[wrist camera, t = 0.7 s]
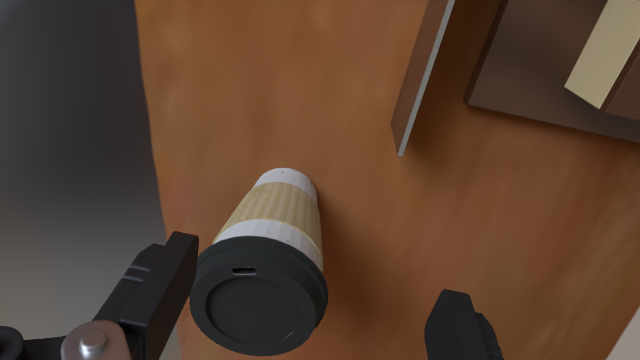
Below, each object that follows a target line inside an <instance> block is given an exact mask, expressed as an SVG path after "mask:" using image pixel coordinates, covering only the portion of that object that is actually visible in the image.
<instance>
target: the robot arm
mask: <svg viewBox="0 0 640 360" xmlns="http://www.w3.org/2000/svg"><path fill="white" fill-rule="evenodd" d="M198 246H199V237H198V236H196V235H192V234H187V233H182V232H177V231H174V232H173V233H172V235H171V236H170V238H169V240H168V241H167V243H166V245H165V246H163V245H158V244H152V245H151V246H149V247H147V248H146V249H144V250H143V251H141V252H140V253H139V254H138V255H137V257H136V258H135V260H134V261H133V263H132V264H131V266H130V268H129V269H128V270H127V272H126V273H125V275H124V276H123V279H121V280H120V281H119V283H118V284H117V286H116V287H115V289H114V290H113V292H112V293H111V294H110V296H109V298H108V299H107V300H106V302H105V303H104V305H103V306H102V307H101V309H100V310H99V312H98V313H97V315H96V316H95V317H94V319H93V320H92V321H90V322H87V323H84V324H82V325H80V326H78V327H76V328H75V329H73V330H72V331H71V332H70V333H69V334H68V335H66V336H62V337H56V338H45V339H33V340H23V337H22V335H21V334H20V332H19V331H17V330H16V329H14V328H11V327H6V326H0V360H159V358H160V356H161V354H162V351H163V349H164V347H165V345H166V343H167V341H168V339H169V337H170V335H171V332H172V330H173V328H174V326H175V324H176V322H177V320H178V318H179V315H180V313H181V311H182V309H183V307H184V305H185V303H186V301H187V298H188V296H189V294H190V292H191V290H192V287H193V284H194V281H195V277H196V271H197V259H198ZM425 344H426V349H427V355H428V360H504V358H502V352H501V349H500V347H499V346H498V341H497V338H496V335H495V333H494V330H493V327H492V326H491V325H490V323H489V322H488V321H487V319H486V318H485V317H484V316H483V314H482V313H477V312H475V311H474V308H473V304H472V301H471V298H470V296H469V295H468V294H466V293H461V292H457V291H452V290H447V289H444V290H443V291H442V292H441V294H440V295H439V297H438V299H437V301H436V303H435V305H434V307H433V309H432V311H431V313H430V315H429V317H428V319H427V322H426V326H425Z"/></svg>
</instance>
